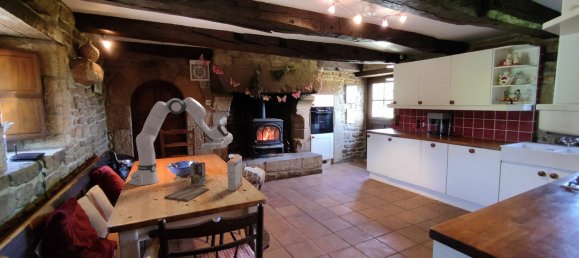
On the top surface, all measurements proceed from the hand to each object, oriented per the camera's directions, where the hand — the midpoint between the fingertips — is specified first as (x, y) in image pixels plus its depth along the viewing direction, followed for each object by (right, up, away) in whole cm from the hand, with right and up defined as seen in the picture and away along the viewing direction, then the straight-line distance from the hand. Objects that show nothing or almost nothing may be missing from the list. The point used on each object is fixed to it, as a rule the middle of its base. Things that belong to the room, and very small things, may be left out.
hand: (206, 148), depth 210 cm
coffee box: (-4, -26, -6) cm, 27 cm away
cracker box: (+25, -27, -14) cm, 40 cm away
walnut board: (-4, -28, -27) cm, 39 cm away
